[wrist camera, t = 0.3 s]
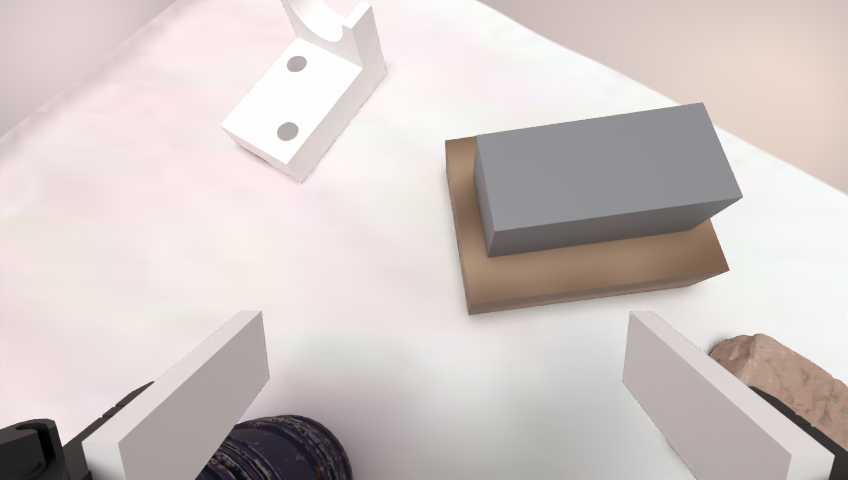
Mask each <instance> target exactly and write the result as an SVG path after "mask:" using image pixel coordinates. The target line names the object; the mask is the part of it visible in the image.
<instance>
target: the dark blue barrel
mask: <svg viewBox="0 0 848 480" xmlns="http://www.w3.org/2000/svg"><path fill="white" fill-rule="evenodd" d="M195 480H353V477H352V470H351V467H350V463H349V460H348V457H347V455H346V453H345V451H344V449H343V447H342V446H341V444H340V443H339V441H338V439H337V438H336V437H335V436H334V435H333V434H332V433H331V432H330V431H329V430H328V429H327V428H325V427H324V426H323V425H322V424H320V423H318V422H316V421H314V420H312V419H309V418H306V417H303V416H296V415H281V416H276V417H263V418H258V419H254V420H250V421H245V422H242V423H240V424H236V425H235V426H234V427H233V429H232V430H231V431H230V433H229V434H228V435H227V437H226V438H225V439H224V441H223V442H222V443H221V445H220V446H219V448H218V449H217V450H216V452H215V453H214V454H213V456H212V457H211V458H210V460H209V461H208V462H207V464H206V465H205V466H204V468H203V469H202V471H201V472H200V473H199V475H198V476H197V477H196V479H195Z"/></svg>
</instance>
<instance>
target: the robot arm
mask: <svg viewBox="0 0 848 480" xmlns="http://www.w3.org/2000/svg"><path fill="white" fill-rule="evenodd" d="M269 378H270V377H269V369H268V361H267V352H266V344H265V336H264V327H263V319H262V311H240V312H239V313H238V314H236V315H235V316H234V317H233V318H232V319H230V320H229V321H228V322H227V323H225V324H224V325H223V326H222V327H221V328H219V329H218V330H217V331H216V332H215V333H213V334H212V335H211V336H210V337H209V338H207V339H206V340H205V341H204V342H202V343H201V344H200V345H199V346H198V347H196V348H195V349H194V350H193V351H192V352H190V353H189V354H188V355H187V356H186V357H184V358H183V359H182V360H181V361H179V362H178V363H177V364H176V365H175V366H173V367H172V368H171V369H170V370H169V371H167V372H166V373H165V374H164V375H162V376H161V377H160V378H159V379H158V380H156V381H155V382H154V381H152V382H150V383H148V384H146V385H144V386H142V387H140V388H138V389H136V390H135V391H133V392H131V393H130V394H128V395H127V396H126V397H125V398H123V399H122V400H121V401H120V402H118V403H117V404H116V406H115V407H112V408H111V409H110V410H108V411H107V412H106V413H105V414H103V416H102V418H98V419H97V420H96V421H95V422H93V423H92V424H91V425H89V426H88V427H87V428H86V429H84V430H83V431H82V432H81V433H79V434H78V435H77V436H76V437H74V438H73V439H72V440H71V441H69V442H68V443H67V444H66V445H64V446H63V447H62V445H61V441H60V438H59V434H58V430H57V426H56V424H55V421H53V420H50V419H33V420H29V421H25V422H20V423H17V424H14V425H11V426H9V427H6V428H3V429H1V430H0V480H195V479H196V477H197V476H198V475H199V473H200V472H201V471H202V469H203V468H204V466H205V465H206V464H207V462H208V461H209V460H210V458H211V457H212V456H213V454H214V453H215V452H216V450H217V449H218V448H219V446H220V445H221V443H222V442H223V441H224V439H225V438H226V437H227V435H228V434H229V433H230V431H231V430H232V429H233V427H234V426H235V424H236V423H237V422H238V420H239V419H240V418H241V416H242V415H243V414H244V412H245V411H246V410H247V408H248V407H249V406H250V404H251V403H252V401H253V400H254V399H255V397H256V396H257V395H258V393H259V392H260V391H261V389H262V388H263V387H264V385H265V384H266V383H267V381H268V380H269ZM622 382H623V383H624V384H625V386H626V387H627V388H628V390H629V391H630V392H631V394H632V395H633V396H634V398H635V399H636V400H637V402H638V403H639V404H640V406H641V407H642V408H643V409H644V411H645V412H646V413H647V415H648V416H649V417H650V419H651V420H652V421H653V423H654V424H655V425H656V427H657V428H658V429H659V431H660V432H661V433H662V434H663V436H664V437H665V438H666V440H667V441H668V442H669V444H670V445H671V446H672V448H673V449H674V450H675V452H676V453H677V454H678V455H679V457H680V458H681V459H682V461H683V462H684V463H685V465H686V466H687V467H688V469H689V470H690V471H691V473H692V474H693V475H694V477H695V478H696V479H697V480H848V451H846V450H845V449H844V448H842V447H841V446H840V445H838V444H837V443H836V442H834V441H833V440H832V439H830V438H829V437H828V436H826V435H825V434H824V433H823V432H821V431H820V430H819V429H817V428H816V427H812V426H811V423H809V422H808V421H807V420H805V419H804V418H803V417H801V416H800V415H796V413H795V411H793V410H792V409H791V408H789V407H788V406H787V405H786V404H784V403H783V402H782V401H780V400H779V399H778V398H776V397H774V396H772V395H770V394H768V393H766V392H764V391H762V390H760V389H758V388H756V387H754V386H746V385H745V384H744V383H742V382H741V381H740V380H739V379H737V378H736V377H735V376H734V375H732V374H731V373H730V372H729V371H727V370H726V369H725V368H723V367H722V366H721V365H720V364H718V363H717V362H716V361H715V360H713V359H712V358H711V357H710V356H708V355H707V354H706V353H705V352H703V351H702V350H701V349H699V348H698V347H697V346H696V345H694V344H693V343H692V342H691V341H689V340H688V339H687V338H686V337H684V336H683V335H682V334H681V333H679V332H678V331H677V330H675V329H674V328H673V327H672V326H670V325H669V324H668V323H667V322H665V321H664V320H663V319H662V318H660V317H659V316H658V315H657V314H655V313H654V312H653V311H630V316H629V326H628V335H627V344H626V353H625V362H624V371H623V380H622Z"/></svg>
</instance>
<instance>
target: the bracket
mask: <svg viewBox="0 0 848 480" xmlns="http://www.w3.org/2000/svg"><path fill="white" fill-rule="evenodd" d="M281 2H282V4H283V7H284V9H285V11H286V13H287V15H288V17H289V19H290V22H291V24H292V26H293V28H294V30H295V32H296V34H297V38H296V39H295V40H294V42H293V43H292V44H291V45H290V46H289V47H288V48H287V50H286V51H285V52H284V53H283V54H282V55H281V56H280V58H279V59H278V60H277V61H276V62H275V63H274V64H273V66H272V67H271V68H270V69H269V70H268V71H267V72H266V74H265V75H264V76H263V77H262V78H261V79H260V80H259V82H258V83H257V84H256V85H255V86H254V87H253V88H252V90H251V91H250V92H249V93H248V94H247V95H246V96H245V98H244V99H243V100H242V101H241V102H240V103H239V104H238V106H237V107H236V108H235V109H234V110H233V111H232V112H231V114H230V115H229V116H228V117H227V118H226V119H225V120H224V122H223V123H222V124H221V125H220V126H221V127H222V128H223V129H224V131H225V132H226V133H227V134H228V135H229V136H230V137H231V138H232V139H233V140H234V141H235V142H236V143H237V144H239V145H240V146H242V147H244V148H245V149H247V150H249V151H251V152H252V153H254V154H256V155H257V156H259V157H261V158H263V159H264V160H266V161H267V162H268V163H269V164H270V165H271V166H273V167H275V168H276V169H278V170H280V171H282V172H283V173H285V174H287V175H288V176H290V177H292V178H293V179H295V180H297V181H299V182H300V183H303V181H304V180H305V179H306V177H307V176H308V175H309V173H310V172H311V171H312V170H313V168H314V167H315V166H316V164H317V163H318V162H319V161H320V159H321V158H322V157H323V155H324V154H325V153H326V152H327V150H328V149H329V148H330V146H331V145H332V144H333V143H334V141H335V140H336V139H337V137H338V136H339V135H340V134H341V132H342V131H343V130H344V128H345V127H346V126H347V125H348V123H349V122H350V121H351V119H352V118H353V117H354V116H355V114H356V113H357V112H358V110H359V109H360V108H361V107H362V105H363V104H364V103H365V101H366V100H367V99H368V98H369V96H370V95H371V94H372V92H373V91H374V90H375V89H376V87H377V86H378V85H379V83H380V82H381V81H382V80H383V78H384V77H385V76H386V74H387V73H386V68H385V64H384V59H383V55H382V51H381V46H380V42H379V37H378V33H377V28H376V24H375V20H374V15H373V11H372V6H371V5H370V4H368V3H365V2H363V1H360V2H359V4H358V5H357V6H356V7H355V8H354V9H353V11H352V12H351V13H350V14H349V15H348V17H347V18H343V17H341V16H339V15H338V14H336V13H335V12H333V11H332V10H331V9H330V8H329V7H327V6H326V5H325V4H324V2H323V1H322V0H281Z"/></svg>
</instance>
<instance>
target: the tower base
mask: <svg viewBox="0 0 848 480" xmlns="http://www.w3.org/2000/svg"><path fill="white" fill-rule="evenodd" d="M475 147H476V136H474V137H467V138H460V139H453V140H446V141H445V149H446V172H447V178H448V185H449V191H450V198H451V204H452V210H453V217H454V223H455V230H456V236H457V243H458V249H459V256H460V262H461V269H462V275H463V281H464V288H465V294H466V301H467V307H468V314H469V315H472V314H479V313H487V312H495V311H502V310H510V309H518V308H525V307H533V306H541V305H548V304H556V303H564V302H571V301H579V300H587V299H594V298H602V297H609V296H617V295H625V294H632V293H640V292H648V291H655V290H663V289H671V288H678V287H686V286H691V285H693V284H696V283H698V282H701V281H703V280H706V279H709V278H711V277H714V276H716V275H719V274H722V273H724V272H727V271H729V267H728V265H727V262H726V259H725V257H724V254H723V252H722V249H721V246H720V244H719V241H718V239H717V236H716V233H715V231H714V228H713V226H712V223H711V220H710V218H709V219H707V220H706V221H704V222H703V223H701V224H699V225H698V226H696V227H695V228H693V229H691V230H689V231H682V232H675V233H667V234H660V235H653V236H645V237H638V238H630V239H623V240H616V241H608V242H601V243H594V244H586V245H579V246H572V247H564V248H557V249H550V250H542V251H535V252H528V253H520V254H513V255H505V256H498V257H491V258H488V257H487V252H486V246H485V241H484V235H483V229H482V224H481V218H480V213H479V207H478V202H477V196H476V191H475V185H474V180H473V169H474V158H475Z"/></svg>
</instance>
